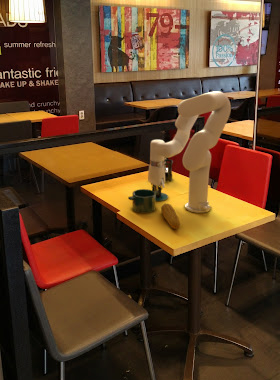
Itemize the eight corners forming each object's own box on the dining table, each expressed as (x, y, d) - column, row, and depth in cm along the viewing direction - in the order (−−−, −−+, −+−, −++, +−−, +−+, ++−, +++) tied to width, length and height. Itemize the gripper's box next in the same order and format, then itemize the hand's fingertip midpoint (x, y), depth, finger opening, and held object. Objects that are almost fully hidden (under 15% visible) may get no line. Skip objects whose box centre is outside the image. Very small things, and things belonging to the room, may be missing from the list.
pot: (164, 209, 198) (164, 193, 196) (135, 216, 189) (135, 200, 187) (151, 202, 207) (151, 186, 205) (123, 208, 198) (123, 192, 197)
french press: (176, 181, 241) (177, 144, 236) (163, 183, 236) (164, 146, 231) (165, 175, 251) (166, 140, 246) (152, 178, 246) (153, 142, 241)
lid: (172, 199, 211) (173, 187, 210) (153, 204, 205) (153, 192, 203) (159, 192, 221) (159, 181, 220) (140, 196, 215) (140, 185, 213)
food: (159, 213, 193) (159, 202, 192) (170, 212, 194) (170, 201, 193) (171, 232, 173) (172, 220, 172) (184, 231, 174) (184, 218, 173)
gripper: (142, 160, 213) (142, 192, 217) (160, 168, 200) (159, 202, 204) (154, 158, 217) (153, 190, 221) (172, 166, 204) (171, 199, 208)
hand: (156, 195), depth 213 cm, fingers closed on lid, 2 cm apart
